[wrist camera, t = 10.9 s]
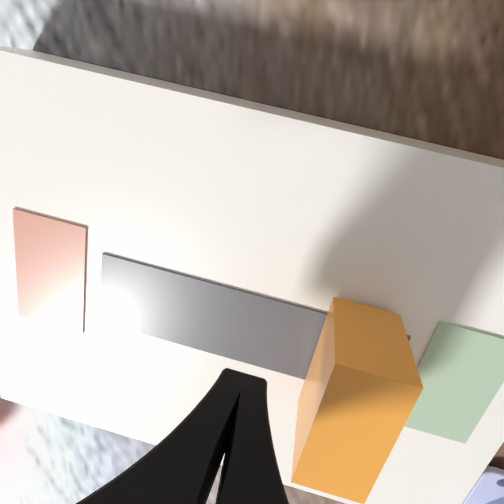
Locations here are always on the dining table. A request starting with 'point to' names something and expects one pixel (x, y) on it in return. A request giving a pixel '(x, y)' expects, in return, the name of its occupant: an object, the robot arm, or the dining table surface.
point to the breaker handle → (353, 400)
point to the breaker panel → (239, 261)
